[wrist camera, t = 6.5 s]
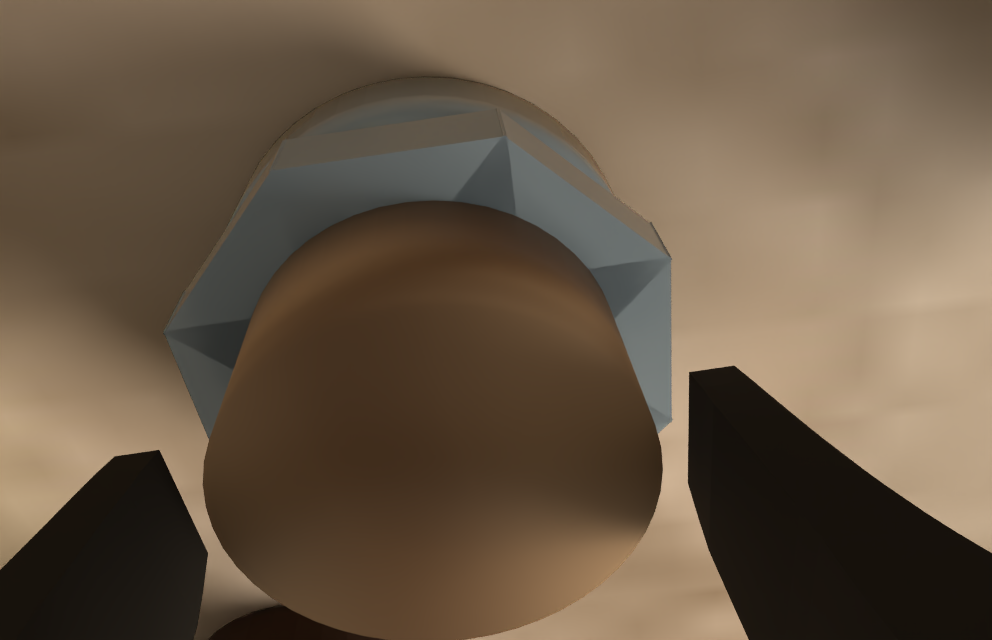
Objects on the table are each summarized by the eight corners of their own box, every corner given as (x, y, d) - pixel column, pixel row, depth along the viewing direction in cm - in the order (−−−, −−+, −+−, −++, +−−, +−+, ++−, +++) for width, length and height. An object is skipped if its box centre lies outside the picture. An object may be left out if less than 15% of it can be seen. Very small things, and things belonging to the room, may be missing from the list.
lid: (613, 176, 11) (667, 273, 9) (620, 481, 14) (660, 613, 12) (197, 228, 11) (134, 340, 9) (296, 522, 14) (269, 664, 12)
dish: (616, 46, 14) (671, 110, 11) (629, 394, 18) (672, 514, 15) (175, 110, 14) (103, 193, 11) (291, 444, 18) (264, 574, 15)
